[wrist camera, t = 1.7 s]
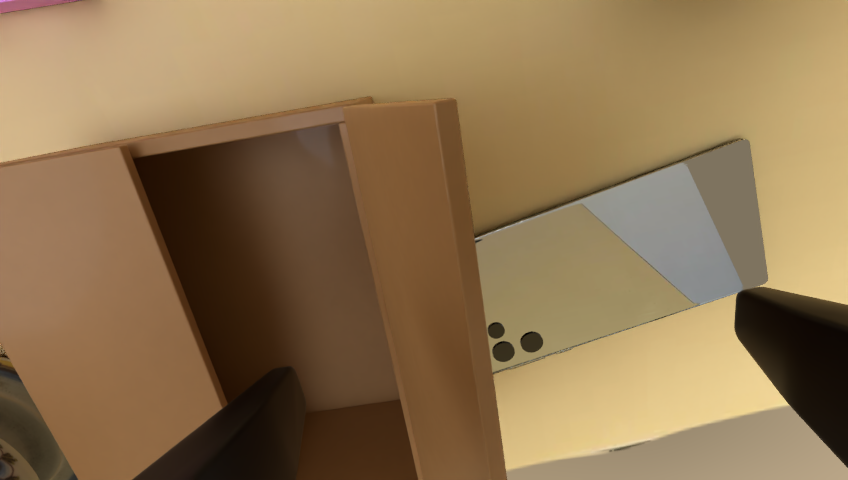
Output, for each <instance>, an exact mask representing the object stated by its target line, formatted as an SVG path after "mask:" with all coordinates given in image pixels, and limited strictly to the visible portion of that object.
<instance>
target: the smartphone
mask: <svg viewBox="0 0 848 480" xmlns="http://www.w3.org/2000/svg"><path fill="white" fill-rule="evenodd" d="M475 244H476V252H477V259H478V267H479V274H480V282H481V289H482V297H483V304H484V312H485V319H486V327H487V334H488V342H489V349H490V357H491V364H492V371H493V374H494V373H497V372H500V371H503V370H507V369H513V368H516V367H519V366H522V365H525V364H528V363H531V362H534V361H537V360H540V359H543V358H545V357H546V356H549V355H552V354H555V353H556V354H558V353H562V352H565V351H568V350H571V349H572V348H573V347H576V346H579V345H582V344H585V343H588V342H591V341H594V340H597V339H600V338H603V337H606V336H609V335H612V334H615V333H618V332H621V331H624V330H627V329H630V328H633V327H636V326H639V325H642V324H645V323H648V322H651V321H654V320H657V319H660V318H663V317H666V316H669V315H672V314H675V313H678V312H681V311H684V310H687V309H690V308H693V307H696V306H699V305H702V304H705V303H708V302H711V301H714V300H717V299H720V298H723V297H726V296H730V295H733V294H736V293H739V292H740V291H741V290H745V289H751V288H754V287H757V286H760V285H763V284H765V283H766V282H767V281H768V274H767V267H766V260H765V252H764V245H763V238H762V231H761V223H760V216H759V209H758V201H757V194H756V187H755V179H754V172H753V165H752V157H751V150H750V143H749V141H748V140H745V139H737V140H734V141H732V142H729V143H726V144H724V145H721V146H718V147H715V148H713V149H710V150H707V151H705V152H702V153H699V154H696V155H694V156H691V157H688V158H686V159H683V160H680V161H678V162H675V163H672V164H669V165H667V166H664V167H661V168H659V169H656V170H653V171H650V172H648V173H645V174H642V175H640V176H637V177H634V178H632V179H629V180H626V181H623V182H621V183H618V184H615V185H613V186H610V187H607V188H605V189H602V190H599V191H596V192H594V193H591V194H588V195H586V196H583V197H580V198H577V199H575V200H572V201H569V202H567V203H564V204H561V205H559V206H556V207H553V208H550V209H548V210H545V211H542V212H540V213H537V214H534V215H531V216H529V217H526V218H523V219H521V220H518V221H515V222H513V223H510V224H507V225H504V226H502V227H499V228H496V229H494V230H491V231H488V232H486V233H483V234H480V235H477V236H475Z"/></svg>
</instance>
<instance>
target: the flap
mask: <svg viewBox="0 0 848 480" xmlns="http://www.w3.org/2000/svg"><path fill="white" fill-rule="evenodd" d="M343 114H344V118H345V123H346V127H347V132H348V136H349V141H350V146H351V150H352V155H353V159H354V164H355V168H356V173H357V177H358V182H359V187H360V191H361V196H362V200H363V205H364V209H365V214H366V219H367V223H368V228H369V232H370V237H371V241H372V246H373V251H374V255H375V260H376V264H377V269H378V273H379V278H380V283H381V287H382V292H383V296H384V301H385V305H386V310H387V315H388V319H389V324H390V328H391V333H392V337H393V342H394V347H395V351H396V356H397V360H398V365H399V369H400V374H401V379H402V383H403V388H404V392H405V397H406V401H407V406H408V410H409V415H410V420H411V424H412V429H413V433H414V438H415V442H416V447H417V452H418V456H419V461H420V465H421V470H422V474H423V479H424V480H507V476H506V469H505V461H504V454H503V446H502V439H501V431H500V424H499V416H498V409H497V401H496V394H495V386H494V379H493V371H492V364H491V357H490V349H489V342H488V334H487V327H486V319H485V312H484V304H483V297H482V289H481V282H480V274H479V267H478V259H477V252H476V244H475V237H474V229H473V222H472V214H471V207H470V200H469V192H468V185H467V177H466V170H465V162H464V155H463V147H462V140H461V132H460V125H459V117H458V110H457V102H456V99H454V98H447V99H433V100H419V101H404V102H390V103H375V104H361V105H351V106H346V107H343Z"/></svg>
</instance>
